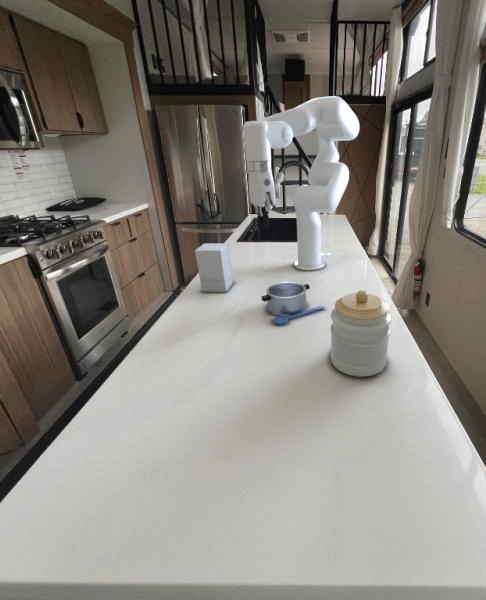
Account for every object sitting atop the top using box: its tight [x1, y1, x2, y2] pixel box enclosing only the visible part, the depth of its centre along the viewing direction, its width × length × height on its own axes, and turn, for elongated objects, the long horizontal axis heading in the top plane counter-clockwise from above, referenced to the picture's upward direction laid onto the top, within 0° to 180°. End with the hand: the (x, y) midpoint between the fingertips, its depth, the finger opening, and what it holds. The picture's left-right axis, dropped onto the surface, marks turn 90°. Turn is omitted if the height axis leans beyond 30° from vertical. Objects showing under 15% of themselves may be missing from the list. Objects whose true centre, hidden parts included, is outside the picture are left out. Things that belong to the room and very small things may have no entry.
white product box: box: [194, 242, 234, 293], centre depth 113 cm, size 9×9×15 cm
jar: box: [329, 289, 393, 377], centre depth 71 cm, size 13×13×18 cm
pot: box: [261, 281, 311, 317], centre depth 99 cm, size 16×12×6 cm
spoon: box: [273, 306, 324, 326], centre depth 95 cm, size 16×4×1 cm, turn 122°
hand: (263, 227), depth 106 cm, fingers closed
